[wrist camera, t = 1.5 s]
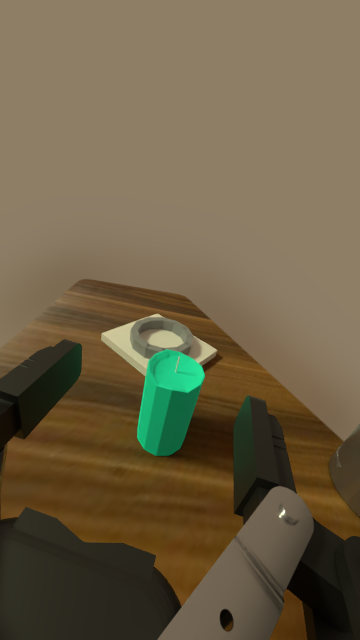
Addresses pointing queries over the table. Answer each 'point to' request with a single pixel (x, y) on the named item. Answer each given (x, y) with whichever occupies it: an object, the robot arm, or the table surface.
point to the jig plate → (155, 341)
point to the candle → (168, 401)
